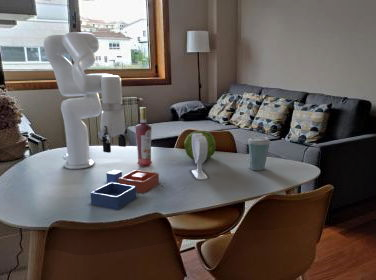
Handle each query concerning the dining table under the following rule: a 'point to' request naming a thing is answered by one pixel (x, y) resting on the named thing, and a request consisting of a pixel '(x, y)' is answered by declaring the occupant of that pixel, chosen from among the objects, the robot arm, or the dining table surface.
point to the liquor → (143, 140)
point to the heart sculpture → (199, 154)
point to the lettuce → (209, 140)
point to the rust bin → (140, 185)
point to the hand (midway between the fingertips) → (114, 149)
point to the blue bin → (113, 195)
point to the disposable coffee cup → (258, 152)
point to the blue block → (113, 176)
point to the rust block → (139, 177)
